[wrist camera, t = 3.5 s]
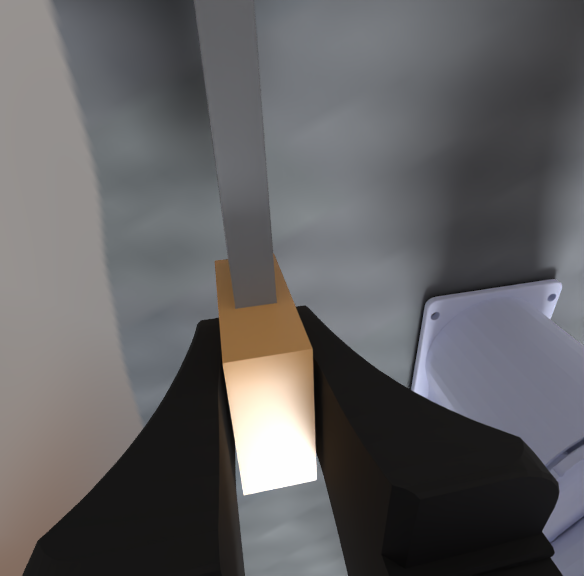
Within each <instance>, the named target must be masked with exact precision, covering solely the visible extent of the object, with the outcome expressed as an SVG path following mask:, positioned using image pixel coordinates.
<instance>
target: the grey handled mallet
mask: <svg viewBox="0 0 584 576" xmlns="http://www.w3.org/2000/svg"><path fill="white" fill-rule="evenodd" d="M194 7H195V15H196V22H197V30H198V37H199V45H200V52H201V60H202V67H203V75H204V82H205V90H206V97H207V105H208V112H209V120H210V127H211V135H212V142H213V150H214V157H215V165H216V172H217V180H218V187H219V195H220V202H221V210H222V217H223V225H224V232H225V240H226V247H227V255H228V259H226V260H218V261H215V271H216V284H217V297H218V310H219V323H220V337H221V350H222V363H223V369H224V375H225V382H226V388H227V394H228V400H229V406H230V413H231V419H232V425H233V431H234V437H235V443H236V450H237V456H238V462H239V468H240V474H241V480H242V487H243V493H244V495H247V494H252V493H257V492H262V491H267V490H271V489H276V488H281V487H286V486H290V485H295V484H300V483H305V482H310V481H314V480H317V477H316V444H315V411H314V378H313V348H312V346H311V344H310V341H309V339H308V336H307V334H306V331H305V329H304V326H303V324H302V321H301V319H300V317H299V314H298V312H297V309H296V307H295V304H294V302H293V299H292V297H291V294H290V292H289V290H288V287H287V285H286V282H285V280H284V277H283V275H282V272H281V270H280V267H279V265H278V262H277V260H276V258H275V255H274V254H273V246H272V233H271V220H270V206H269V193H268V180H267V167H266V154H265V141H264V128H263V115H262V101H261V88H260V75H259V62H258V49H257V36H256V23H255V10H254V0H194Z"/></svg>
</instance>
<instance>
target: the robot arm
mask: <svg viewBox="0 0 584 576" xmlns="http://www.w3.org/2000/svg"><path fill="white" fill-rule="evenodd" d="M561 289H562V283H560V282H559V281H557V280H556V279H550V280H543V281H536V282H530V283H523V284H517V285H510V286H503V287H497V288H490V289H484V290H477V291H470V292H464V293H457V294H451V295H444V296H437V297H433V298H431V299H429V300H428V301H427V302H426V304H425V308H424V314H423V320H422V326H421V332H420V338H419V344H418V350H417V357H416V363H415V369H414V375H413V381H412V387H411V390H410V389H408V388H407V387H405V386H403V385H401V384H400V383H398V382H396V381H395V380H393V379H392V378H390V377H389V376H387V375H386V374H384V373H383V372H381V371H379V370H378V369H377V368H375V367H374V366H373V365H371V364H370V363H369V362H367V361H366V360H365V359H363V358H362V357H361V356H360V355H358V354H357V353H356V352H355V351H353V350H352V349H351V348H350V347H349V346H348V345H346V344H345V343H344V342H343V341H342V340H341V339H340V338H338V337H337V336H336V335H335V334H334V333H333V332H332V331H331V330H330V329H329V328H328V327H327V326H326V325H325V324H324V323H323V322H322V321H321V320H320V319H319V318H318V317H317V316H316V315H315V314H314V313H313V312H312V311H311V310H310V309H309V308H308V307H307V306H298V307H296V309H297V312H298V314H299V317H300V319H301V321H302V324H303V326H304V329H305V331H306V334H307V336H308V339H309V341H310V344H311V346H312V348H313V378H314V411H315V444H316V453H317V456H318V459H319V462H320V465H321V468H322V471H323V475H324V479H325V483H326V487H327V491H328V494H329V498H330V502H331V506H332V510H333V514H334V518H335V522H336V526H337V530H338V534H339V539H340V543H341V547H342V551H343V555H344V560H345V564H346V568H347V572H348V576H584V346H583V345H582V344H581V343H580V342H578V341H577V340H576V339H575V338H573V337H572V336H571V335H570V334H568V333H567V332H566V331H564V330H563V329H562V328H561V327H559V326H558V325H557V324H556V323H554V322H553V321H552V320H551V317H552V314H553V311H554V308H555V306H556V303H557V300H558V298H559V295H560V292H561ZM435 312H436V313H435ZM433 313H435V314H434V315H432V314H433ZM431 315H432V316H431ZM23 576H245V571H244V562H243V552H242V543H241V533H240V524H239V514H238V504H237V494H236V477H235V437H234V431H233V425H232V419H231V413H230V406H229V400H228V394H227V388H226V382H225V375H224V369H223V363H222V350H221V337H220V323H219V318H215V319H208V320H201V321H200V322H199V323H198V324H197V328H196V331H195V334H194V337H193V340H192V343H191V345H190V347H189V350H188V352H187V355H186V357H185V359H184V361H183V363H182V365H181V367H180V369H179V371H178V373H177V375H176V377H175V379H174V381H173V383H172V384H171V386H170V388H169V390H168V391H167V393H166V395H165V397H164V398H163V400H162V402H161V403H160V405H159V406H158V408H157V410H156V411H155V413H154V414H153V416H152V417H151V418H150V420H149V421H148V423H147V424H146V426H145V427H144V428H143V430H142V431H141V432H140V434H139V435H138V436H137V438H136V439H135V440H134V441H133V443H132V444H131V445H130V447H129V448H128V449H127V450H126V452H125V453H124V454H123V455H122V457H121V458H120V459H119V460H118V461H117V463H116V464H115V465H114V466H113V467H112V468H111V469H110V470H109V471H108V472H107V473H106V474H105V476H104V477H103V478H102V479H101V480H100V481H99V482H98V483H97V484H96V485H95V486H94V488H93V489H92V490H91V491H90V492H89V493H88V494H87V495H86V496H85V497H84V498H83V499H82V500H81V501H80V502H79V503H78V504H77V505H76V506H75V507H74V508H73V509H72V510H71V511H69V512H68V513H67V514H66V515H65V516H64V517H63V518H62V519H61V520H60V521H59V522H58V523H57V524H56V525H55V526H53V527H52V528H51V529H50V530H49V532H47V533H46V534H45V535H44V536H42V537H41V538H40V539H39V540H38V541H37V544H36V546H35V548H34V550H33V553H32V555H31V557H30V559H29V562H28V564H27V566H26V568H25V571H24V573H23Z"/></svg>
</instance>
